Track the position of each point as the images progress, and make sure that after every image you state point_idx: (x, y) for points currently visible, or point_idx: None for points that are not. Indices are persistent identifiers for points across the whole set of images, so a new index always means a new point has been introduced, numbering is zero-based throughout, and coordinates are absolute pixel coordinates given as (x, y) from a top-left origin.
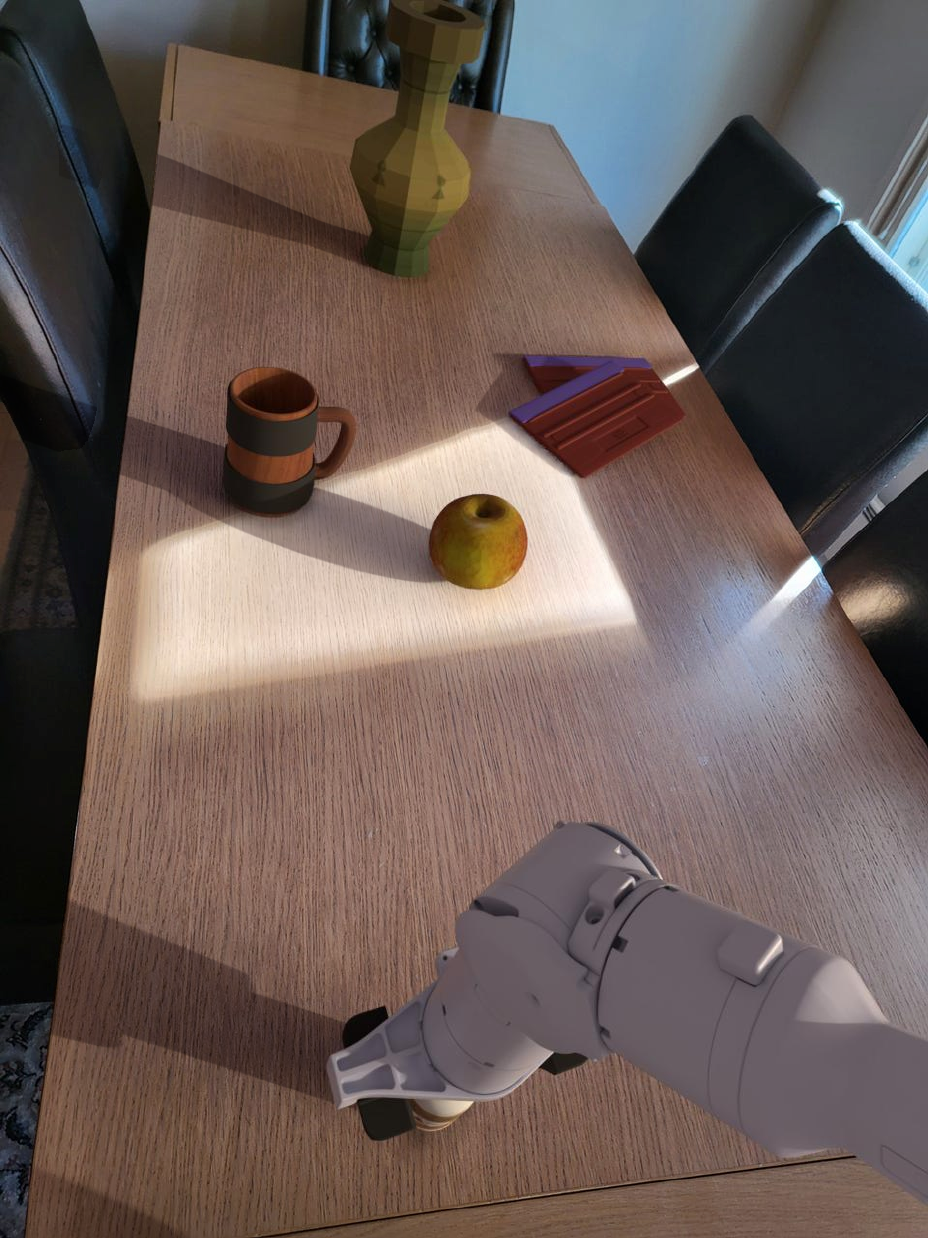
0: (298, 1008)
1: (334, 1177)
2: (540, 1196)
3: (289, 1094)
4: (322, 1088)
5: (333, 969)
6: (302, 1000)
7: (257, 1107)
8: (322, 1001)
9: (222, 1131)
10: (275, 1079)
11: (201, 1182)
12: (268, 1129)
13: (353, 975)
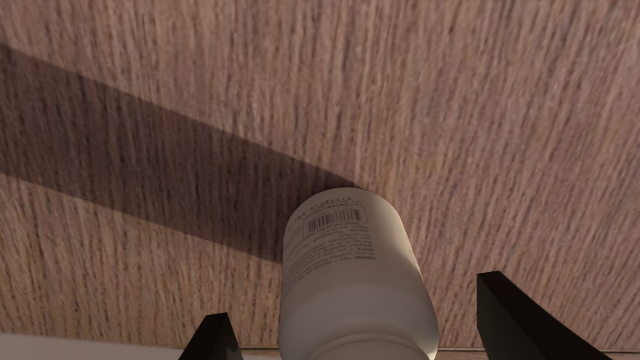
0: (106, 86)
1: (192, 309)
2: (466, 350)
3: (112, 216)
4: (166, 214)
5: (173, 14)
6: (112, 72)
7: (62, 226)
8: (154, 78)
9: (14, 248)
10: (84, 194)
11: (3, 296)
12: (86, 253)
13: (219, 33)
